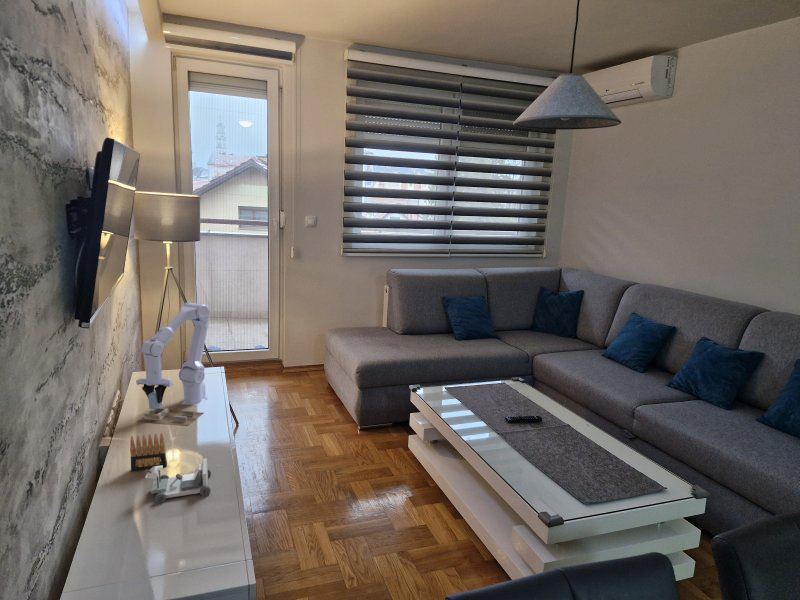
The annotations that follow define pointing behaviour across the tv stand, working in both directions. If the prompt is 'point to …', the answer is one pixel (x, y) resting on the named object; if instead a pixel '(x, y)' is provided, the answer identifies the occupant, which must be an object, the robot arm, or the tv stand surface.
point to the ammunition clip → (147, 453)
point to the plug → (153, 401)
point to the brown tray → (170, 417)
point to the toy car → (179, 483)
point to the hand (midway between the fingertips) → (155, 402)
